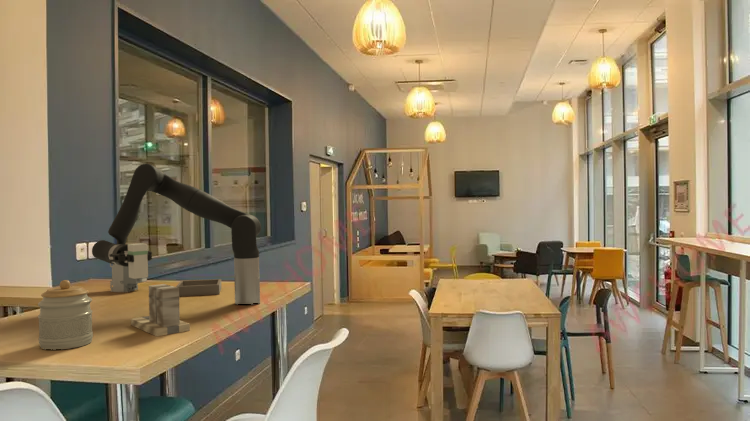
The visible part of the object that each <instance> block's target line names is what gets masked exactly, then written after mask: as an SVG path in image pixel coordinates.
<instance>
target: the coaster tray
mask: <svg viewBox="0 0 750 421" xmlns="http://www.w3.org/2000/svg"><path fill="white" fill-rule="evenodd" d="M175 287H178V288H179V297H188V296H189V297H193V296H194V297H195V296H212V295H216V296H217V295H220V292H222V278H213V279H195V280H193V279H191V280H188V279H187V280H180V282H178V283H177V285H176V286H175Z"/></svg>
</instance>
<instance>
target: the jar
mask: <svg viewBox="0 0 750 421" xmlns="http://www.w3.org/2000/svg"><path fill="white" fill-rule="evenodd" d="M88 293H89V290H88V289H86V288H84V287H83V286H78V285H77V286H76V285H75V286H74V285H72V286H71V282H70V281H69V279H64V280H61V281H60V283H59V287H58V286H57V287H52V288H48V289H46V290H45V291H44V292H43V293H41V295H40V296H41V297H42V299H41V300H40V301H39V302H38V303H37V306H38V307H39V314H38V315H37V318H38V331H39V332H38V334H39V336H38V345H39V348H40V347H41V348H40V349H42V348H43V349H42V350H46V349H51V350H50V351H57V350H56V349H61V350H67V349H69V350H70V349H74V348H80V347H84V346H87V345H89V344H90V343H92V342H93V337H94V332H93V309H91V302H92V301H93V298H92V297H90V296H88ZM52 349H53V350H52Z"/></svg>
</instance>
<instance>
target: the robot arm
mask: <svg viewBox="0 0 750 421" xmlns="http://www.w3.org/2000/svg"><path fill="white" fill-rule="evenodd" d="M131 177H132V178H131V180H130V183H129V187H128V189H127V191H126V195H125V196H124V199H123V202H122V204H121V206H120V208H119V210H118V211H117V213H116V216H115V217H114V220H113V221H112V223H111V224H110V227H109V228H108V231H107V233H108V234H109V235H110V236H111V237H112V238H114V239H115V240H116V243H113V242H111V241H108V240H106V239H105V240H104V239H101V240H98V241H97V242H95V243H94V245H93V246H92V248H91V254H92V256H93V257H94V259H97V260H100V261H103V262H104V263H105V262H106V263H109V265H110V264H111V265H113V264H116V265H120V266H125V267H128V262H134V256H133V255H129V254H128V244H127V240H128V237H129V235H130V233H131V231H132V229H133V228H134V226H135V223H136V222H137V218H138V215H139V210H140V207H141V205H142V204H141V203H142V201H143V198H144V197H145V195H146V193H148V191H149V192H152V193H155V194H158V195H160V196H163V197H166V198H167V199H169V200H170V201H172V202H173V203H175V204H176V205H178V206H179V207H181V208H182V209H184V210H186V211H187V212H189V213H191V214H194V215H195V216H198V217H200V218H203V219H206V220H209V221H212V222H215V223H219V224H222V225H224V226H226V227H228V228H230V230H231V231H230V232H231V233H230V235H231V248H232V252H233V263H234V266H233V267H234V268H233V269H234V270H233V271H234V304H235V305H238V304H251V305H254V304H253V303H258V304H261V284H260V283H261V280H260V250H259V248H258V245H257V236H258V235H260V233H261V231H262V224H261V222H260V220H259V219H258V217H256V216H255V215H254V214H253V215H252V214H249V213H247V212H244V211H241V210H239V209H237V208H234V207H233V206H230V205H228V204H226V203H225V202H224V201H222V200H221V199H218V198H217V197H215V196H213V195H212V194H209V193H208V192H206V191H204V190H201V189H200V188H197V187H195V186H192V185H189V184H186V183H182V182H180V181H178V180H176V179H174V178H172V177H171V176H169V175H168V174H166V173H164V172H163V171H162V170H161V169H159V168H158V167H156V166H155V165H153V164H150V163H142V164H140V165H138V166H137V167H136V168H135V170H134V172H133V174H132V176H131ZM147 251H148V254H147V258H148V262H149V261H151V260H153V256H152V255H153V252H152V251H151V250H147Z"/></svg>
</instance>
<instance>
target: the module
mask: <svg viewBox="0 0 750 421" xmlns="http://www.w3.org/2000/svg"><path fill="white" fill-rule="evenodd" d="M127 245H128V254H129V255H133V256H134V262H128V267H129V278H133V279H136V278H145V277H147V278H149V265H148V264H149V261H148V258H147V254H148V251H149V250H148V243H142V242H141V243H140V242H139V243H138V242H137V243H130V244H129V243H127Z"/></svg>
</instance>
